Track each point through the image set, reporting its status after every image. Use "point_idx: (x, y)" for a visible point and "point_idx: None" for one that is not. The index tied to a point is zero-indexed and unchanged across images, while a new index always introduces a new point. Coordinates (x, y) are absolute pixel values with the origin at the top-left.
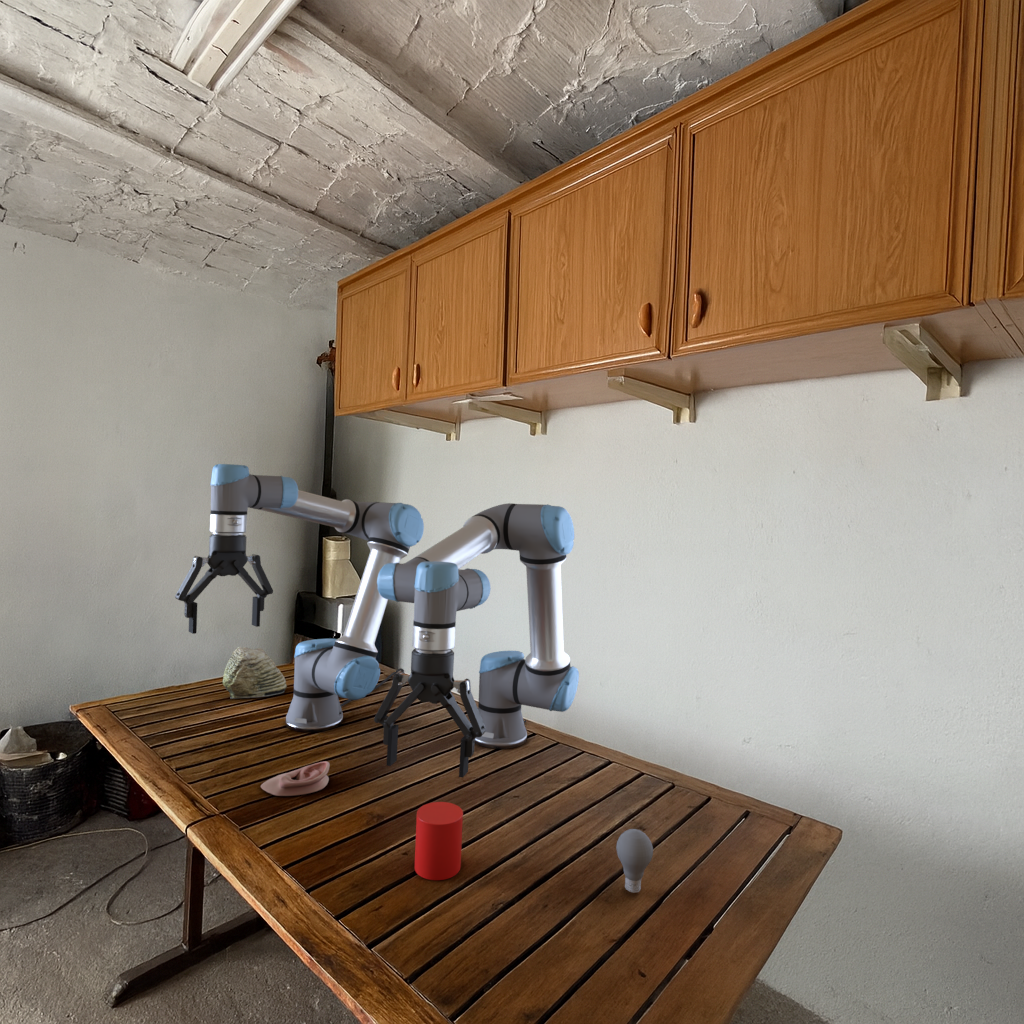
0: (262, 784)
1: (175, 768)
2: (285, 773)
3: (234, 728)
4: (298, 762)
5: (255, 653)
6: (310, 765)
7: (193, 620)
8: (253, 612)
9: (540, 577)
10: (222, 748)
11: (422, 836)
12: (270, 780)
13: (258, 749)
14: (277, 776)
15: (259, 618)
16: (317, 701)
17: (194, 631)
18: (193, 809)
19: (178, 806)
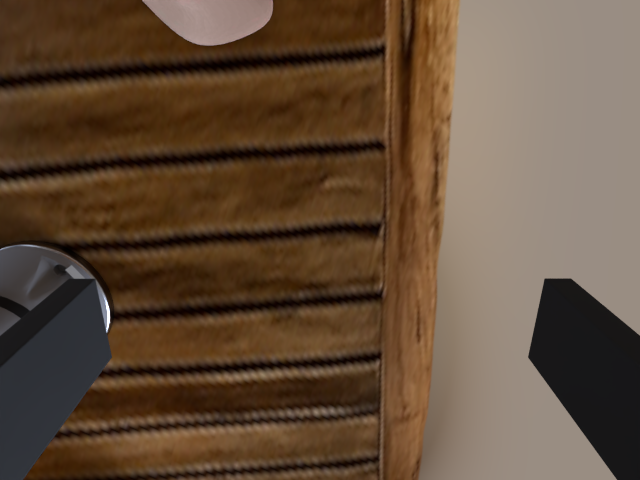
0: (267, 14)
1: (378, 235)
2: (208, 10)
3: (215, 362)
4: (150, 103)
5: None
6: None
7: (636, 334)
8: (50, 407)
9: None
10: (269, 278)
11: None
12: (249, 3)
13: (206, 229)
14: (229, 11)
15: (33, 312)
16: (9, 291)
17: (566, 286)
18: (424, 6)
19: (441, 44)
